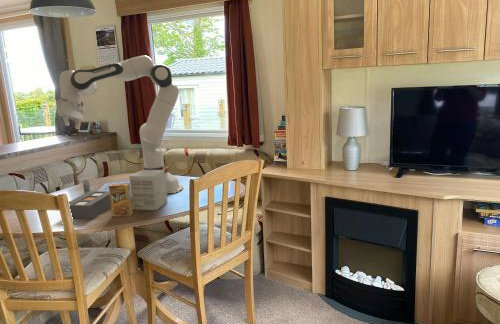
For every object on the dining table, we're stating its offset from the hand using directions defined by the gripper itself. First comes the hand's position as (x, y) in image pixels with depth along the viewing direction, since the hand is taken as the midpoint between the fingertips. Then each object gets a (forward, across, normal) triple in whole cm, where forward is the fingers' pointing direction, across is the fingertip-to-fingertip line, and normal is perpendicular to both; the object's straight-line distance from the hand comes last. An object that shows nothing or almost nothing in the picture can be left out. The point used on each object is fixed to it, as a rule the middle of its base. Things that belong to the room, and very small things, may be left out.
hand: (72, 126), depth 202 cm
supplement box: (+46, +2, -37) cm, 59 cm away
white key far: (+44, -13, -9) cm, 46 cm away
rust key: (+42, -6, -9) cm, 43 cm away
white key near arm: (+40, 0, -10) cm, 41 cm away
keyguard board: (+45, -5, -9) cm, 46 cm away
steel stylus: (+39, +12, +1) cm, 41 cm away
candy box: (+49, -10, -27) cm, 57 cm away
